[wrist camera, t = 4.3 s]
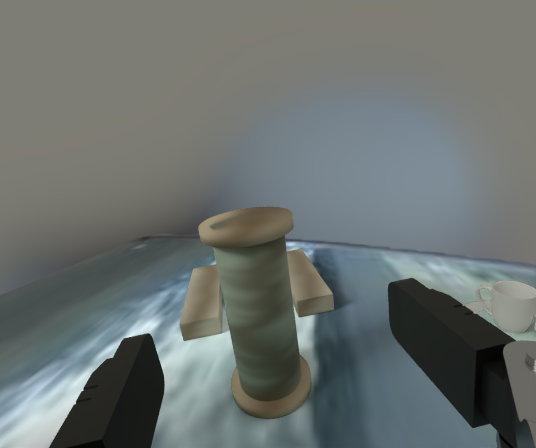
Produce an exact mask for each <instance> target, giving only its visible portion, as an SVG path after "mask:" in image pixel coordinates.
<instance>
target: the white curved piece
mask: <svg viewBox="0 0 536 448" xmlns="http://www.w3.org/2000/svg"><path fill="white" fill-rule="evenodd" d="M482 288H485V289H487V290H488V291H490V292H491V300H482V298H481V296H480V289H482ZM476 295H477V298H478V300H479V301H475V302H472V303H469V304H467V305H465V306H466V307H467V308H469V309H470V310H472V311H473V313H474V314H477V313H478V312H479V311H482V310H486V311H487V312H488V313H489V314H490V315H491V316H492V317H493V319H494V321H495V323H496V325H497V326H498V327H499V328H500V329H502V330H504V331H507V332H510V333H523V332H525V331H526V330H527V329H528V328H529V326H530V324H531V322H532V319H533V317H534V318H536V289H535V288H533V287H531V286H529V285H527V284H524V283H520V282H515V281H498V282H495V283H493V284H492V287H491V286H489V285H482V286H480V287H479V288H478V289H477V290H476ZM491 308H492V311H491V310H490V309H491ZM534 329H535V331H536V322H535V326H534Z"/></svg>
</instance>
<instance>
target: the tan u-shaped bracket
mask: <svg viewBox="0 0 536 448" xmlns="http://www.w3.org/2000/svg"><path fill="white" fill-rule="evenodd" d="M287 259H288V267H289V275H290V283H291V291H292V299H293V304H294V307H295V309H296V312H297V314H298V316H299V317H302V316H307V315H312V314H317V313H322V312H327V311H332V310H334V301H333V293H332V292H331V291H330V289H329V288H328V286H327V285H326V283H325V282H324V281H323V279H322V278H321V276H320V275H319V273H318V272H317V271H316V269H315V268H314V266H313V265H312V263H311V262H310V261H309V259H308V258H307V256H306V255H305V253H304V252H303V251H302V249H298V250H293V251H287ZM180 328H181V332H182V336H183V340H184V341H185V340H190V339H195V338H200V337H205V336H210V335H214V334H219V333H222V289H221V284H220V279H219V274H218V269H217V264H216V265H211V266H205V267H200V268H194V269H193V272H192V276H191V280H190V284H189V288H188V292H187V296H186V300H185V304H184V308H183V312H182V316H181V320H180Z"/></svg>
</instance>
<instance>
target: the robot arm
mask: <svg viewBox="0 0 536 448" xmlns="http://www.w3.org/2000/svg"><path fill="white" fill-rule="evenodd" d="M388 301H389V322H390V327H391V330H392V333H393V335H394V337H395V339H396V340H397V342H398V343H399V344H400V345H401V346H402V347H403V349H404V350H405V351H406V352H407V353H408V354H409V355H410V357H411V358H412V359H413V360H414V361H415V362H416V364H417V365H418V366H419V367H420V368H421V369H422V370H423V372H424V373H425V374H426V375H427V376H428V377H429V378H430V380H431V381H432V382H433V383H434V384H435V385H436V387H437V388H438V389H439V390H440V391H441V392H442V393H443V395H444V396H445V397H446V398H447V399H448V400H449V401H450V403H451V404H452V405H453V406H454V407H455V408H456V410H457V411H458V412H459V413H460V414H461V415H462V416H463V418H464V419H465V420H466V421H467V422H468V423H469V425H470V426H471V427H472V428H475V427H479V426H483V425H486V424H491V425H492V426H493V427H494V428H495V429H496V430H497V436H496V442H497V448H536V342H535V341H516V340H514V339H513V338H511V337H510V336H509V335H507V334H506V333H504V332H503V331H501V330H500V329H498V328H497V327H495V326H494V325H492V324H491V323H489V322H488V321H486V320H485V319H483V318H482V317H480V316H479V315H478V314H474V313H473V311H472V310H470V309H469V308H467V307H466V306H463V305H462V304H461V303H460V302H458V301H457V300H455V299H454V298H452V297H451V296H449V295H447V294H444V293H442V292H439V291H436V290H434V289H428V288H427V287H425V286H424V285H423V284H421V283H420V282H418V281H417V280H415V279H414V278H409V279H404V280H399V281H395V282H391V283H389V285H388ZM164 386H165V384H164V374H163V371H162V367H161V364H160V361H159V357H158V354H157V351H156V348H155V344H154V341H153V338H152V336H151V335H150V334H149V333H147V334H143V335H138V336H133V337H129V338H124V339H123V340H122V341H121V343H120V345H119V347H118V349H117V351H116V353H115V355H114V357H113V358H109V359H106V360H105V361H104V362H103V363H102V364H101V365H100V366H99V367H98V368H97V369H96V370H95V371H94V372H93V373H92V375H91V376H90V378H89V380H88V381H87V383H86V385H85V387H84V391H82V392H81V393H80V395H79V397H78V399H77V400H76V404H75V405H74V406H73V407H72V409H71V411H70V412H69V414H68V416H67V418H66V419H65V421H64V423H63V424H62V426H61V428H60V430H59V431H58V433H57V435H56V436H55V438H54V440H53V442H52V443H51V445H50V447H49V448H151V444H152V440H153V436H154V432H155V428H156V424H157V420H158V416H159V411H160V407H161V403H162V399H163V395H164Z"/></svg>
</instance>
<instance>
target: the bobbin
mask: <svg viewBox="0 0 536 448" xmlns="http://www.w3.org/2000/svg"><path fill="white" fill-rule="evenodd" d="M293 227H294V225H293V216H292V212H291V211H290V210H288V209H285V208H280V207H255V208H246V209H240V210H235V211H230V212H226V213H223V214H220V215H217V216H214V217H212V218H209V219H207V220H205V221H204V222H203V223H201V224H200V225H199V233H200V238H201V241H202V243H203V244H205V245H207V246H211V247H213V249H214V254H215V259H216V264H217V269H218V274H219V279H220V284H221V289H222V294H223V299H224V304H225V309H226V314H227V319H228V324H229V329H230V334H231V339H232V344H233V349H234V354H235V359H236V364H237V367H236V369H235V370H234V373H233V375H232V381H231V385H232V391H233V396H234V399H235V401H236V403H237V405H238V406H239V407H240V408H241V409H242V410H243V411H244V412H245V413H247V414H249V415H251V416H254V417H257V418H264V419H272V418H278V417H282V416H285V415H287V414H290V413H291V412H293V411H295V410H296V409H297V408H299V407H300V406H301V405H302V404H303V403H304V401H305V400H306V399H307V397H308V395H309V393H310V389H311V375H310V368H309V366H308V363H307V362H306V360H305V359H304V358H303V357H302V356H301V355H299V348H298V340H297V332H296V324H295V316H294V307H293V299H292V291H291V283H290V275H289V267H288V259H287V251H286V243H285V235H286V234H287V233H289V232H290V231H291V230H292V229H293Z"/></svg>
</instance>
